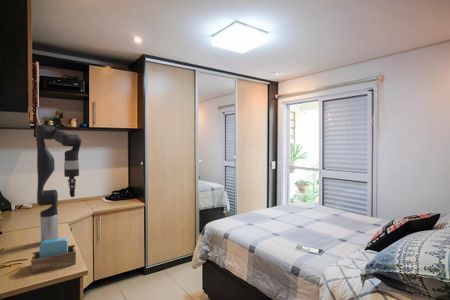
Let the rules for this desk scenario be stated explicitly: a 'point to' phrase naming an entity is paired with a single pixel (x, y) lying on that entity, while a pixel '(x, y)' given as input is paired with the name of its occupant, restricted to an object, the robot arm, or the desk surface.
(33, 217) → the desk surface
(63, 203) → the desk surface
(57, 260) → the crate
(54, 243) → the light blue flat block
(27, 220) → the desk surface
